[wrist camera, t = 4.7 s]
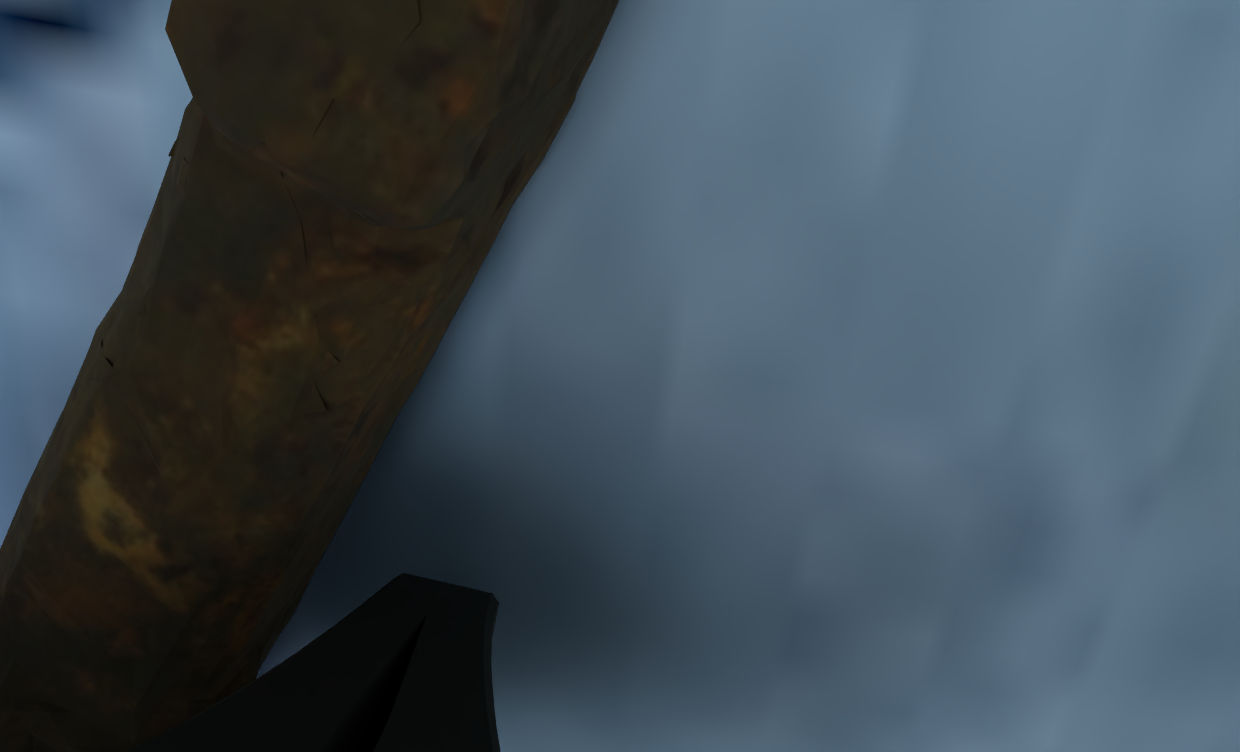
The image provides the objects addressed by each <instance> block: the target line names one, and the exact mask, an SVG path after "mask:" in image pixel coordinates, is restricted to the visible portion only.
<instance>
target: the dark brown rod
mask: <svg viewBox="0 0 1240 752" xmlns="http://www.w3.org/2000/svg"><path fill="white" fill-rule="evenodd" d="M618 1H619V0H172V2H171V6H170V11H169V15H168V19H167V24H166V28H165V30H166V32H167V35H168V37H169V39H170V42H171V44H172V47H173V49H174V52H175V54H176V57H177V59H178V61H179V64H180V66H181V69H182V71H183V74H184V76H185V79H186V81H187V83H188V86H189V88H190V91H191V93H192V96H193V98H192V100H191V101H190V103H189V104H188V106H187V107H186V109H185V112H184V115H183V119H182V122H181V126H180V129H179V133H178V136H177V140H176V141H175V143H174V145H173V147H172V149H171V151H170V153H169V155H168V156H171V159H170V162H169V165H168V167H167V170H166V173H165V176H164V179H163V182H162V184H161V187H160V190H159V193H158V196H157V199H156V201H155V204H154V207H153V210H152V212H151V215H150V217H149V220H148V223H147V225H146V228H145V230H144V233H143V236H142V238H141V241H140V243H139V246H138V249H137V253H136V256H135V259H134V261H133V264H132V266H131V269H130V271H129V274H128V276H127V279H126V281H125V284H124V286H123V289H122V291H121V293H120V294H119V296H118V297H117V299H116V300H115V302H114V303H113V305H112V306H111V308H110V309H109V311H108V312H107V314H106V315H105V317H104V318H103V320H102V322H101V323H100V325H99V326H98V328H97V329H96V331H95V334H94V337H93V340H92V343H91V345H90V348H89V350H88V353H87V355H86V357H85V360H84V362H83V365H82V367H81V369H80V372H79V374H78V376H77V379H76V381H75V384H74V386H73V388H72V391H71V393H70V395H69V398H68V400H67V403H66V405H65V407H64V409H63V411H62V413H61V415H60V418H59V420H58V422H57V424H56V426H55V428H54V430H53V432H52V434H51V437H50V439H49V441H48V443H47V445H46V447H45V449H44V451H43V454H42V456H41V458H40V460H39V462H38V464H37V466H36V469H35V471H34V473H33V475H32V477H31V479H30V481H29V483H28V486H27V488H26V490H25V492H24V494H23V497H22V499H21V501H20V504H19V506H18V509H17V511H16V513H15V516H14V518H13V520H12V523H11V525H10V528H9V530H8V532H7V535H6V537H5V539H4V542H3V544H2V546H1V549H0V752H125V751H127V750H129V749H132V748H134V747H136V746H138V745H140V744H142V743H144V742H146V741H148V740H150V739H152V738H154V737H156V736H158V735H160V734H162V733H164V732H166V731H168V730H169V729H171V728H173V727H175V726H177V725H179V724H181V723H183V722H185V721H186V720H188V719H190V718H192V717H194V716H195V715H197V714H199V713H201V712H203V711H204V710H206V709H208V708H210V707H211V706H213V705H215V704H216V703H218V702H220V701H222V700H223V699H225V698H227V697H228V696H230V695H232V694H233V693H235V692H237V691H238V690H240V689H241V688H243V687H244V686H246V685H247V684H249V683H251V682H252V681H254V680H255V679H256V678H257V673H258V671H259V669H260V667H261V665H262V664H263V662H264V660H265V659H266V657H267V655H268V654H269V652H270V650H271V649H272V647H273V645H274V644H275V642H276V640H277V639H278V637H279V636H280V634H281V633H282V631H283V630H284V628H285V627H286V625H287V623H288V622H289V620H290V619H291V617H292V616H293V614H294V613H295V611H296V609H297V607H298V605H299V603H300V601H301V599H302V597H303V595H304V593H305V590H306V588H307V586H308V584H309V581H310V579H311V577H312V576H313V574H314V572H315V570H316V568H317V566H318V564H319V562H320V561H321V559H322V557H323V555H324V553H325V551H326V549H327V547H328V545H329V543H330V541H331V540H332V538H333V536H334V534H335V532H336V531H337V529H338V527H339V525H340V523H341V521H342V520H343V518H344V516H345V514H346V512H347V511H348V509H349V507H350V505H351V503H352V501H353V499H354V497H355V496H356V494H357V492H358V490H359V488H360V486H361V484H362V482H363V480H364V478H365V476H366V475H367V473H368V471H369V469H370V467H371V465H372V463H373V461H374V459H375V457H376V456H377V454H378V452H379V450H380V448H381V446H382V444H383V442H384V440H385V438H386V437H387V435H388V433H389V431H390V429H391V427H392V425H393V423H394V421H395V420H396V418H397V416H398V414H399V412H400V411H401V409H402V408H403V406H404V404H405V403H406V401H407V400H408V398H409V397H410V395H411V394H412V392H413V391H414V389H415V387H416V385H417V384H418V382H419V380H420V378H421V376H422V374H423V373H424V371H425V369H426V367H427V365H428V363H429V362H430V360H431V358H432V356H433V354H434V352H435V350H436V349H437V347H438V345H439V343H440V341H441V339H442V337H443V335H444V334H445V332H446V330H447V328H448V326H449V324H450V322H451V320H452V318H453V317H454V315H455V313H456V311H457V309H458V308H459V306H460V304H461V302H462V300H463V298H464V297H465V295H466V293H467V291H468V289H469V287H470V286H471V284H472V282H473V280H474V278H475V276H476V274H477V272H478V270H479V269H480V267H481V265H482V263H483V261H484V259H485V257H486V255H487V253H488V252H489V250H490V248H491V246H492V244H493V242H494V240H495V238H496V236H497V235H498V233H499V231H500V229H501V227H502V225H503V223H504V221H505V219H506V217H507V215H508V213H509V211H510V209H511V207H512V205H513V204H514V202H515V201H516V199H517V198H518V196H519V195H520V193H521V192H522V190H523V189H524V187H525V186H526V184H527V183H528V181H529V180H530V178H531V177H532V175H533V174H534V172H535V171H536V169H537V168H538V166H539V165H540V163H541V162H542V160H543V158H544V157H545V155H546V153H547V151H548V149H549V147H550V145H551V143H552V142H553V140H554V138H555V136H556V134H557V132H558V130H559V129H560V127H561V125H562V123H563V121H564V119H565V117H566V115H567V114H568V112H569V110H570V108H571V106H572V104H573V102H574V101H575V96H576V92H577V90H578V88H579V86H580V84H581V82H582V80H583V78H584V76H585V74H586V72H587V70H588V68H589V66H590V64H591V61H592V59H593V57H594V55H595V53H596V51H597V48H598V46H599V44H600V42H601V39H602V37H603V35H604V33H605V30H606V28H607V26H608V24H609V22H610V19H611V17H612V15H613V13H614V10H615V8H616V6H617V4H618Z"/></svg>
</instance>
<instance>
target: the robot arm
mask: <svg viewBox="0 0 1240 752" xmlns="http://www.w3.org/2000/svg"><path fill="white" fill-rule="evenodd" d="M498 606H499V602H498V601H497V599H496V598H495V596H494V595H493V593H488V592H484V591H480V590H475V589H471V588H467V587H462V586H458V585H453V584H449V583H445V582H440V581H436V580H432V579H427V578H423V577H419V576H414V575H410V574H406V573H403V574H401V575H399V576H398V577H396V578H394V579H393V580H392V581H390V582H389V583H388V584H387V585H385V586H384V587H383V588H382V589H380V590H379V591H378V592H377V593H375V594H374V595H373V596H372V597H371V598H369V599H368V600H367V601H365V602H364V603H363V604H362V605H360V606H359V607H358V608H357V609H355V610H354V611H353V612H351V613H350V614H349V615H347V616H346V617H345V618H343V619H342V620H341V621H340V622H338V623H337V624H336V625H334V626H333V627H331V628H330V629H329V630H327V631H326V632H325V633H323V634H322V635H320V636H319V637H318V638H316V639H315V640H313V641H312V642H311V643H309V644H308V645H306V646H305V647H304V648H302V649H301V650H299V651H298V652H297V653H295V654H294V655H292V656H291V657H289V658H288V659H286V660H285V661H283V662H282V663H280V664H279V665H277V666H276V667H274V668H273V669H271V670H269V671H268V672H266V673H265V674H263V675H262V676H260V677H258V678H257V679H255V680H254V681H252V682H251V683H249V684H247V685H246V686H244V687H243V688H241V689H240V690H238V691H237V692H235V693H233V694H232V695H230V696H228V697H227V698H225V699H223V700H222V701H220V702H218V703H216V704H215V705H213V706H211V707H210V708H208V709H206V710H204V711H203V712H201V713H199V714H197V715H195V716H194V717H192V718H190V719H188V720H186V721H185V722H183V723H181V724H179V725H177V726H175V727H173V728H171V729H169V730H168V731H166V732H164V733H162V734H160V735H158V736H156V737H154V738H152V739H150V740H148V741H146V742H144V743H142V744H140V745H138V746H136V747H134V748H132V749H129V750H127V751H125V752H500V746H499V740H498V734H497V726H496V719H495V711H494V698H493V686H492V670H491V646H492V635H493V630H494V625H495V620H496V616H497V611H498Z"/></svg>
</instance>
